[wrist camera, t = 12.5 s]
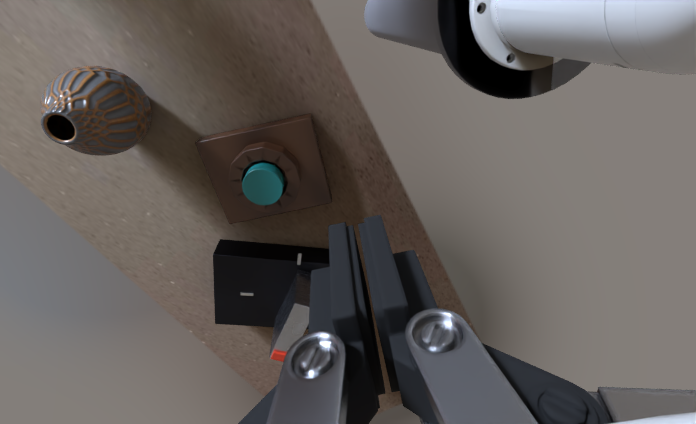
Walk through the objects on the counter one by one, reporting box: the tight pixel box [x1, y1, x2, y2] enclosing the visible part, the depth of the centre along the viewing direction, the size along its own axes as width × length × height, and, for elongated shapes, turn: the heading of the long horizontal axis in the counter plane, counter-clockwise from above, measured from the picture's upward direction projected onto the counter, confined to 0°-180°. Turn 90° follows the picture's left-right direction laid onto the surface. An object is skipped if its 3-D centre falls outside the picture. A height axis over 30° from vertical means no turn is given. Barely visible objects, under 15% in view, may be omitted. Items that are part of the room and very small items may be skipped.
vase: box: [41, 66, 151, 155], centre depth 28 cm, size 7×7×9 cm
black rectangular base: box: [213, 239, 330, 329], centre depth 41 cm, size 15×12×3 cm
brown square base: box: [195, 114, 332, 224], centre depth 34 cm, size 11×9×4 cm
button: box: [242, 162, 284, 205], centre depth 32 cm, size 4×4×2 cm
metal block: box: [269, 269, 311, 362], centre depth 38 cm, size 8×2×6 cm, turn 156°
